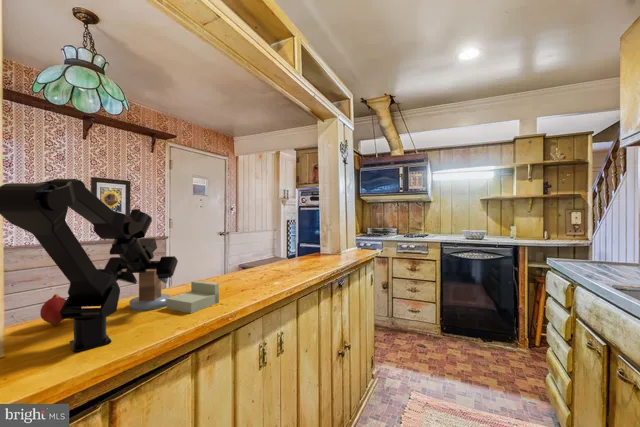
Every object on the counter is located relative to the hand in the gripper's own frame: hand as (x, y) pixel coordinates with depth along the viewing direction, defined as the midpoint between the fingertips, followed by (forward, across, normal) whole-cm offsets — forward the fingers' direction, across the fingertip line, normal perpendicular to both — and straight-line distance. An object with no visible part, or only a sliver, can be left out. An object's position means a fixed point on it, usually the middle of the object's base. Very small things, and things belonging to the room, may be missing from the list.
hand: (151, 282), depth 93 cm
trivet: (+4, 0, +5) cm, 7 cm away
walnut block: (+3, 0, +4) cm, 5 cm away
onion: (-6, +16, +16) cm, 24 cm away
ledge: (+3, -14, +6) cm, 15 cm away
